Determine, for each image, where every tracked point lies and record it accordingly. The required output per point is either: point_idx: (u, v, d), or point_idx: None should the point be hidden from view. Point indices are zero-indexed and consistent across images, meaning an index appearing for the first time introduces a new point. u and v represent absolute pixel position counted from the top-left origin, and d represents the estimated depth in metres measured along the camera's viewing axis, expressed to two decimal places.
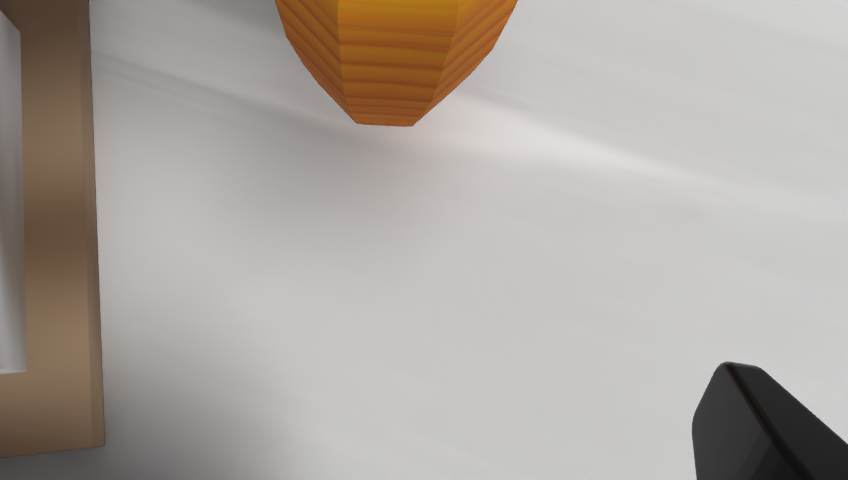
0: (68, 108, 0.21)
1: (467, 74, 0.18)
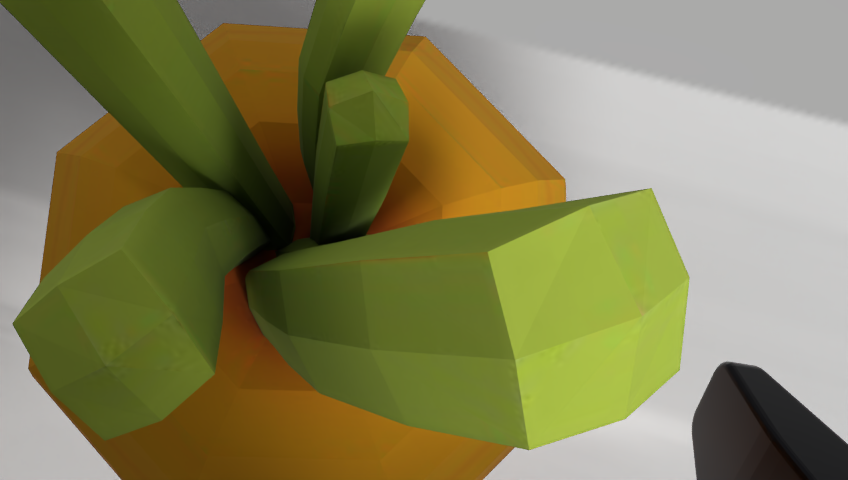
0: None
1: None
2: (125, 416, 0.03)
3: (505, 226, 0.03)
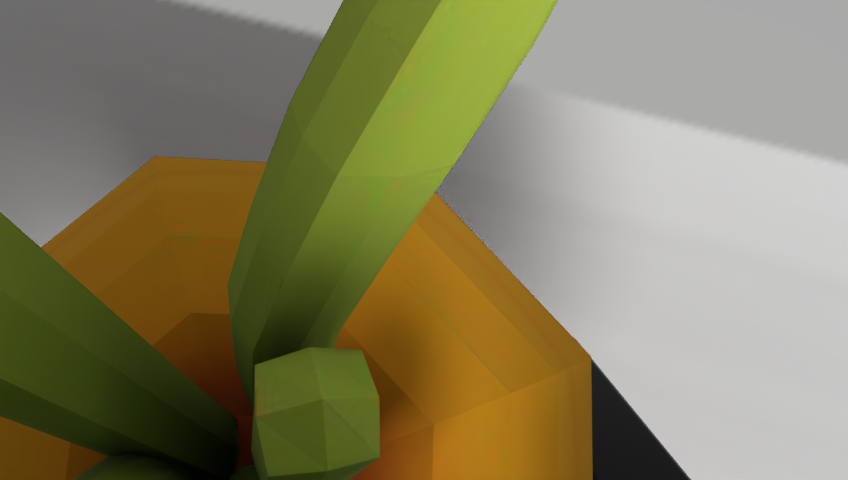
0: None
1: None
2: None
3: None
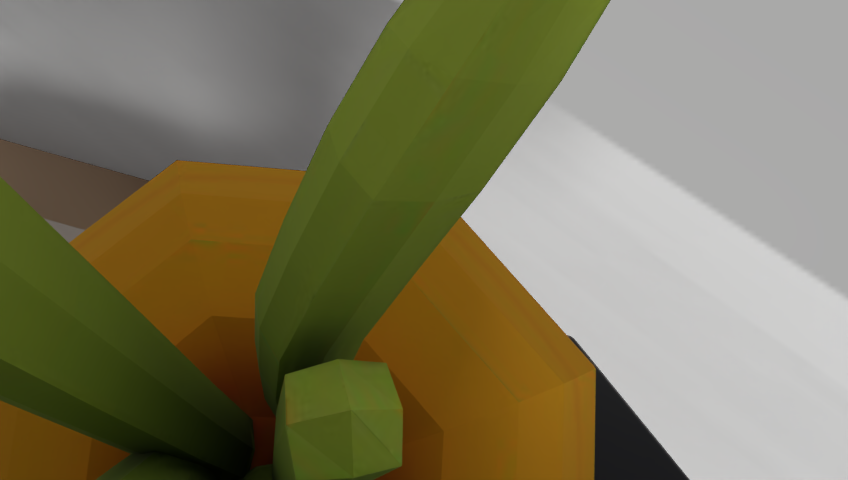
0: None
1: None
2: None
3: None
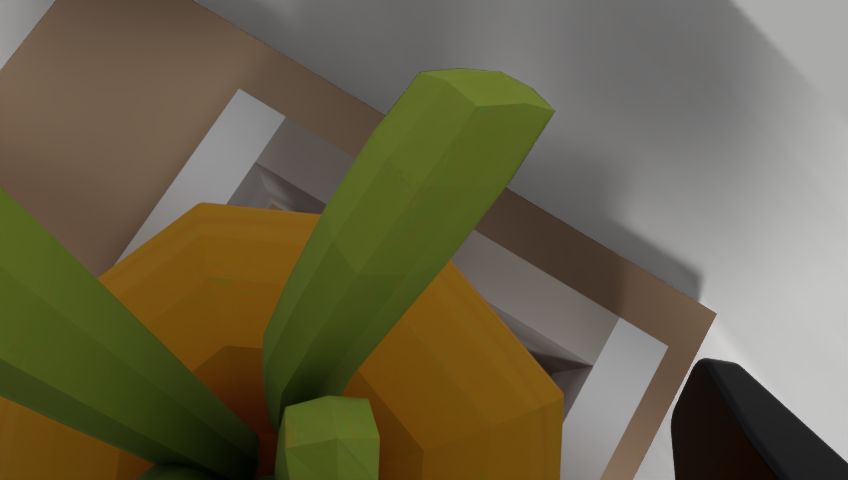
0: None
1: None
2: None
3: None
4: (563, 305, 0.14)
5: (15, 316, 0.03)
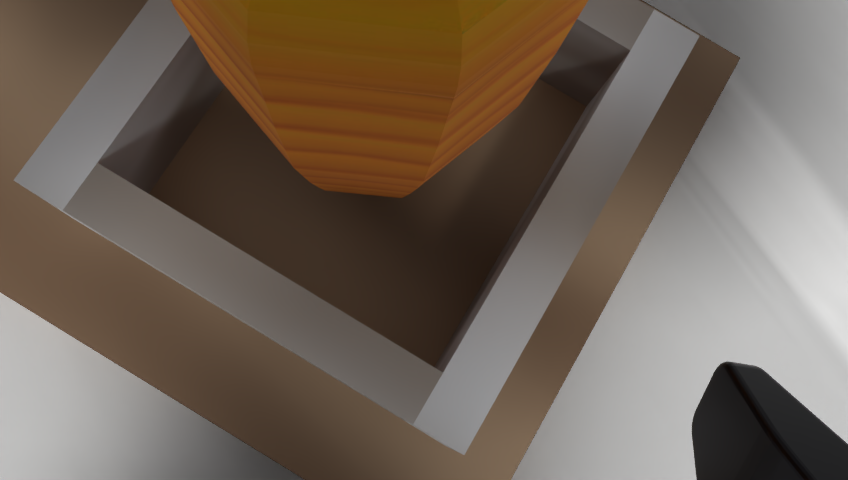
0: (645, 202, 0.18)
1: (481, 136, 0.12)
2: None
3: None
4: None
5: None
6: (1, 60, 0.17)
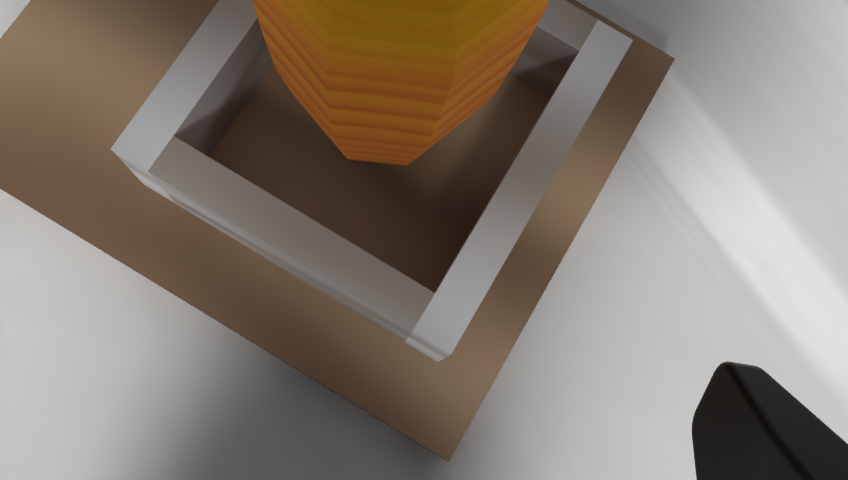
0: (597, 172, 0.22)
1: (466, 118, 0.17)
2: None
3: None
4: (557, 10, 0.20)
5: None
6: (85, 60, 0.22)
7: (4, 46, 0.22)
